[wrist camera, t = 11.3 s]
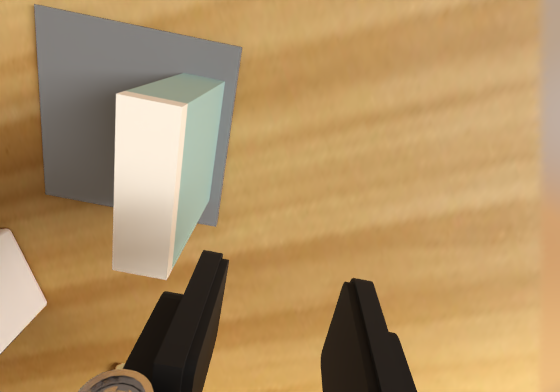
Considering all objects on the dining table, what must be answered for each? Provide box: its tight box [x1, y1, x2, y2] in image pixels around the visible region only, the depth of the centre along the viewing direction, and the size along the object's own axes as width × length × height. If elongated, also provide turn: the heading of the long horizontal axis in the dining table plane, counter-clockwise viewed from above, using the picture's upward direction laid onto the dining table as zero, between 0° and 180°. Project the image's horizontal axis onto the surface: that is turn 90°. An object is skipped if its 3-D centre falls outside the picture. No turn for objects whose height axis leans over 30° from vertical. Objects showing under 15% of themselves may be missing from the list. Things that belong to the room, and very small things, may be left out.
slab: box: [112, 73, 225, 280], centre depth 20 cm, size 2×8×9 cm, turn 169°
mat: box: [34, 4, 242, 227], centre depth 24 cm, size 12×12×1 cm
